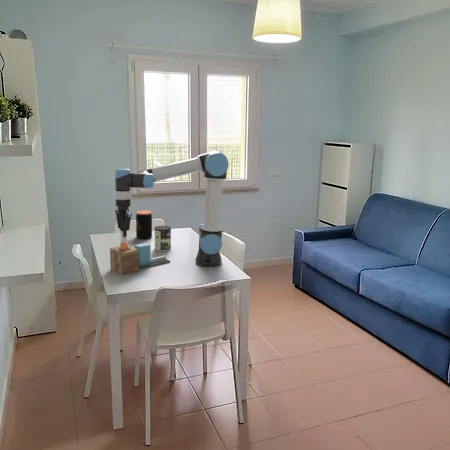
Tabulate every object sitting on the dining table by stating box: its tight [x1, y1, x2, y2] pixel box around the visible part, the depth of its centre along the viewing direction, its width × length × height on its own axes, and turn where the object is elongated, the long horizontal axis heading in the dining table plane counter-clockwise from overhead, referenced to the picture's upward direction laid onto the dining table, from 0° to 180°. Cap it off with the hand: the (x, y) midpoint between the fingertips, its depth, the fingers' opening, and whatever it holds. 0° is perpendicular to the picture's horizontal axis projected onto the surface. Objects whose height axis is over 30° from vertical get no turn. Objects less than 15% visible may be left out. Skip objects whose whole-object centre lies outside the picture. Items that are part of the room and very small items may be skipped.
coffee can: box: [154, 225, 172, 252], centre depth 280 cm, size 10×10×14 cm
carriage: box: [134, 242, 151, 266], centre depth 247 cm, size 5×7×11 cm
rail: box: [139, 255, 171, 271], centre depth 251 cm, size 8×22×3 cm, turn 133°
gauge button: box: [119, 241, 129, 251], centre depth 238 cm, size 4×4×6 cm
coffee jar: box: [135, 209, 153, 240], centre depth 304 cm, size 11×11×18 cm
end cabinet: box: [109, 245, 140, 276], centre depth 239 cm, size 12×11×12 cm
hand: (123, 242), depth 237 cm, fingers closed
